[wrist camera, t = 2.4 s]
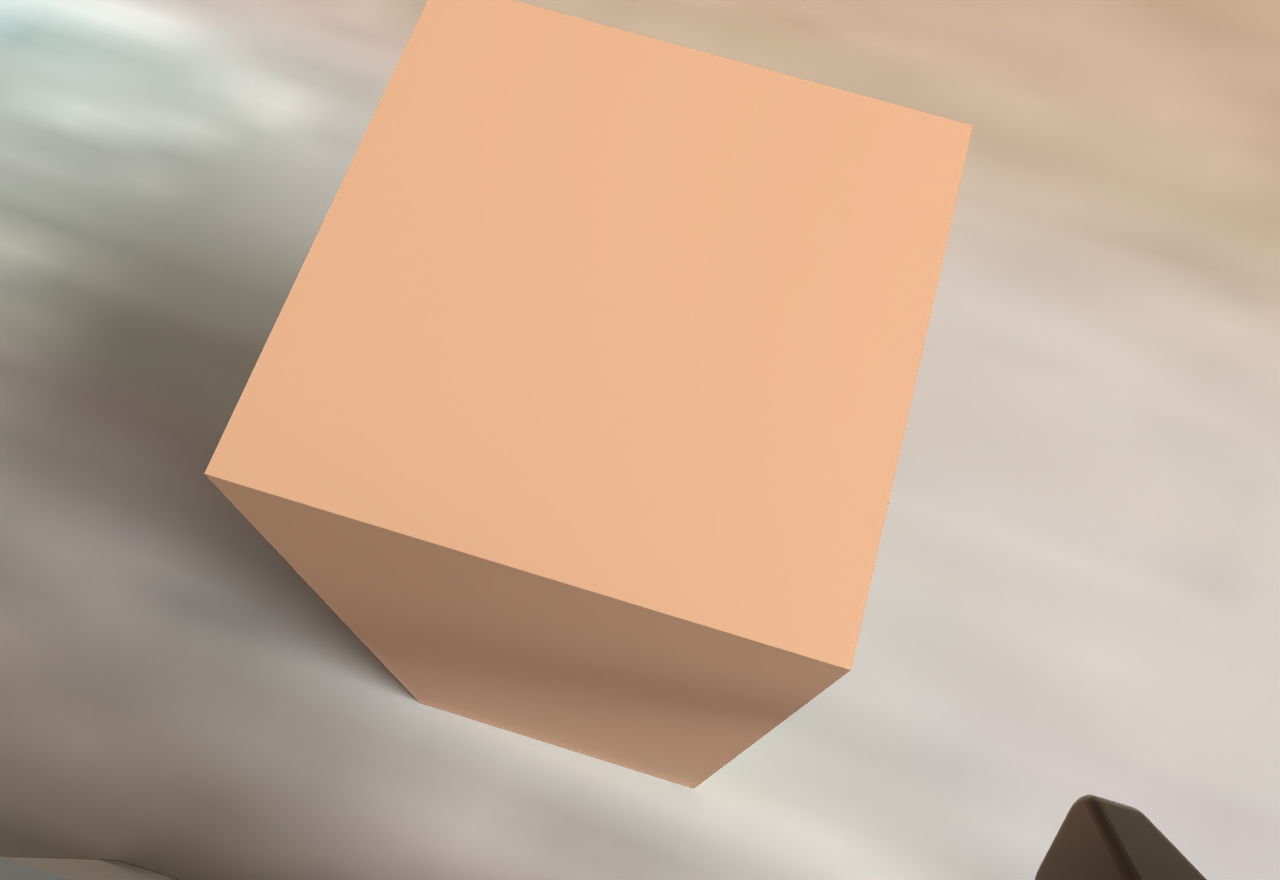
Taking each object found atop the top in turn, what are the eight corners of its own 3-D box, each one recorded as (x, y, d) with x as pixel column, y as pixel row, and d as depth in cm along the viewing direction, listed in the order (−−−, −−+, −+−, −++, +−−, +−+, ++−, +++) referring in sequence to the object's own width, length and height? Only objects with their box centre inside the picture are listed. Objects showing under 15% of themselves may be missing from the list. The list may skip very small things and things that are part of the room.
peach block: (694, 788, 19) (850, 670, 8) (419, 702, 20) (203, 473, 8) (764, 522, 21) (972, 125, 10) (512, 447, 21) (436, -21, 10)
